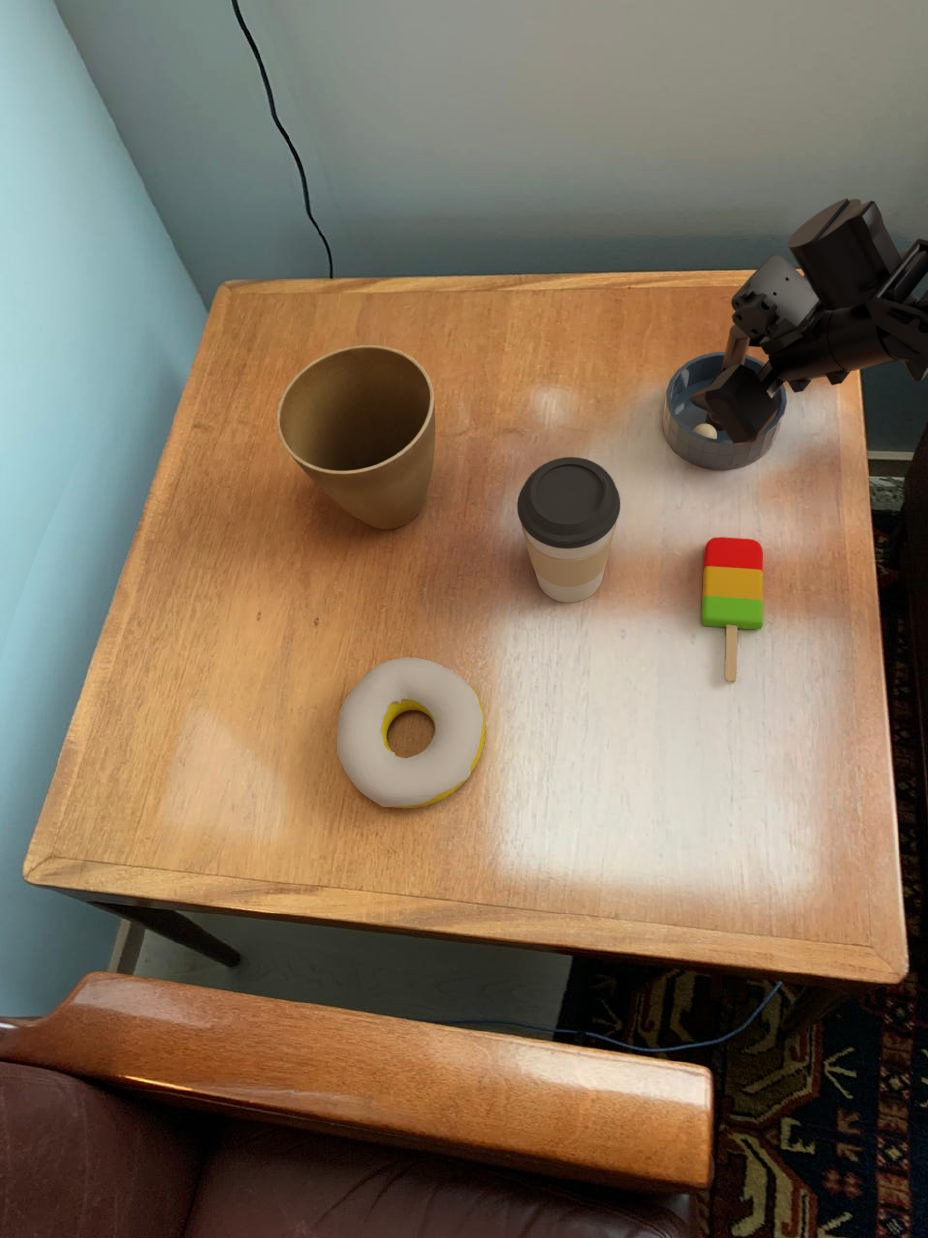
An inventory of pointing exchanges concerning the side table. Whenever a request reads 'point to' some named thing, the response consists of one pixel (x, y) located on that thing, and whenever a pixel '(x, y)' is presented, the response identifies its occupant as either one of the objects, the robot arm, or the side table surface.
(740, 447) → the bowl
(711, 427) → the ball
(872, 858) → the side table surface
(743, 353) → the stirring stick
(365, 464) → the plant pot
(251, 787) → the side table surface
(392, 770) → the donut
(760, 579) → the popsicle
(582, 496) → the coffee cup
